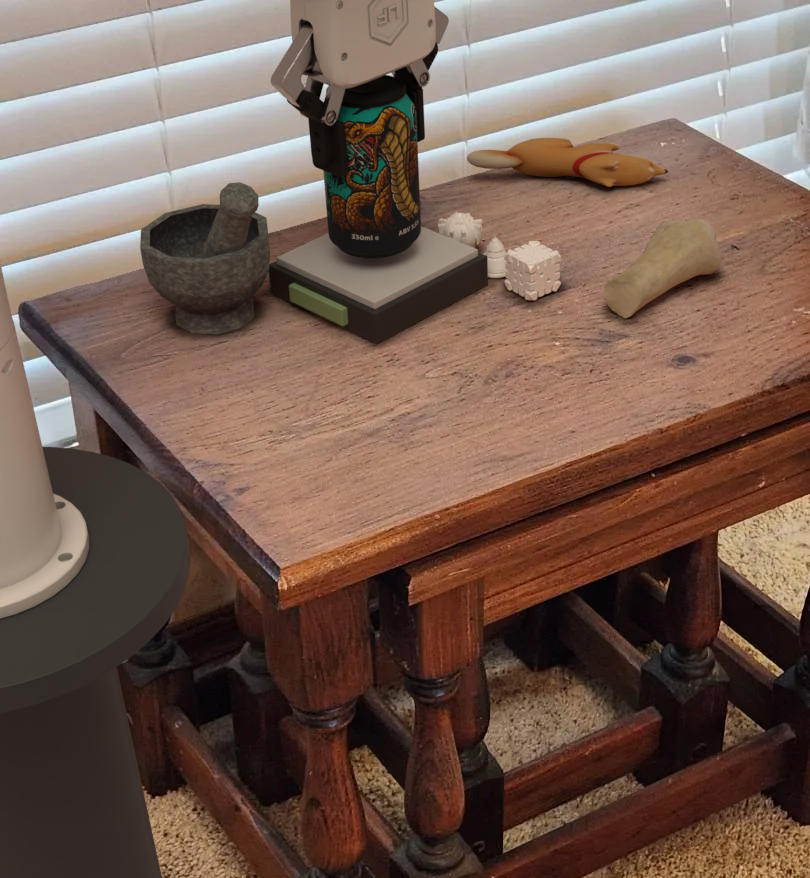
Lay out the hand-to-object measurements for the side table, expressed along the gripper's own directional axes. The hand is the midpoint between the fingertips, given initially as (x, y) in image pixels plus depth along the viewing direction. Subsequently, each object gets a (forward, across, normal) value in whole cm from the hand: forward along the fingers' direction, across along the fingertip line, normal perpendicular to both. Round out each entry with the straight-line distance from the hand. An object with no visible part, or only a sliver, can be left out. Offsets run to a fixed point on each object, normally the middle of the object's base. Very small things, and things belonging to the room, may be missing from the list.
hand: (369, 151), depth 114 cm
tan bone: (+12, +14, -16) cm, 24 cm away
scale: (+11, 0, 0) cm, 11 cm away
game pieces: (+12, +8, -5) cm, 15 cm away
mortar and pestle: (+12, -11, +6) cm, 17 cm away
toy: (+10, +26, +3) cm, 28 cm away
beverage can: (+7, 0, 0) cm, 7 cm away
